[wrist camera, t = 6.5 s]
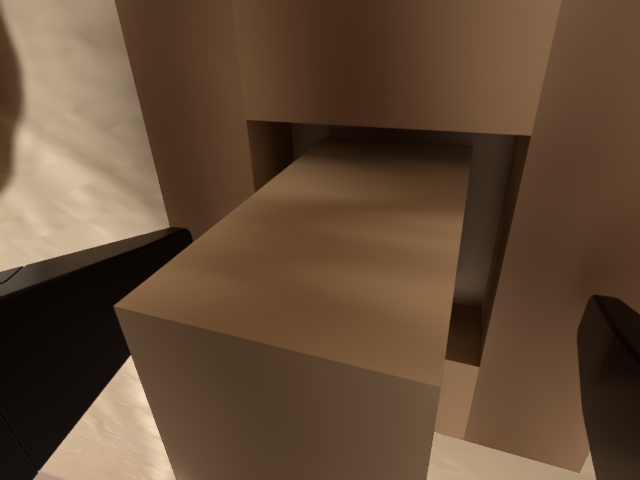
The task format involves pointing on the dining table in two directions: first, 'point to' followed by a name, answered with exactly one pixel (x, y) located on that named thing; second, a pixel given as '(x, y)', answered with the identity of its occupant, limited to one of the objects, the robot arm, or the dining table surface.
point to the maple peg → (309, 320)
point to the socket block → (434, 128)
